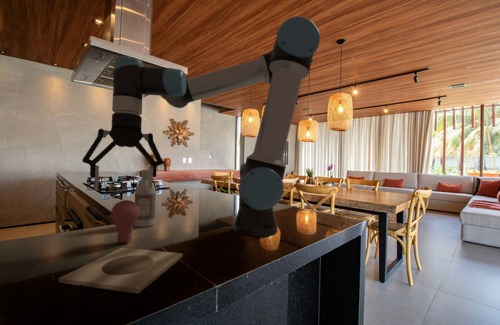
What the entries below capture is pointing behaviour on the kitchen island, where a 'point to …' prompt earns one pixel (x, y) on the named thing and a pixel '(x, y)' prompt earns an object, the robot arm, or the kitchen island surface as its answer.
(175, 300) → the kitchen island surface
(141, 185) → the bath foam
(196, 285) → the kitchen island surface
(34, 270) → the kitchen island surface
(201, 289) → the kitchen island surface
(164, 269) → the seat board
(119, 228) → the dark red bulb shape
